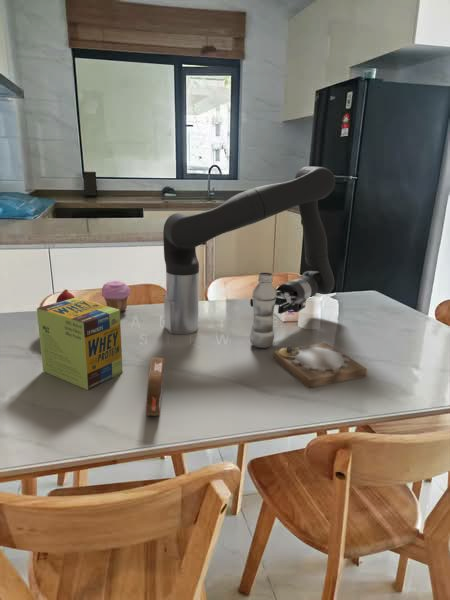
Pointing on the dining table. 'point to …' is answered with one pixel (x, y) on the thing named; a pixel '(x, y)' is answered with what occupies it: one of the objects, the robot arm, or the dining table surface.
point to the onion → (64, 296)
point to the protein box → (80, 341)
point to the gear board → (318, 364)
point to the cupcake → (116, 294)
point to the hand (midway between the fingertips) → (265, 306)
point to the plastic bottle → (263, 311)
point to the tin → (155, 387)
